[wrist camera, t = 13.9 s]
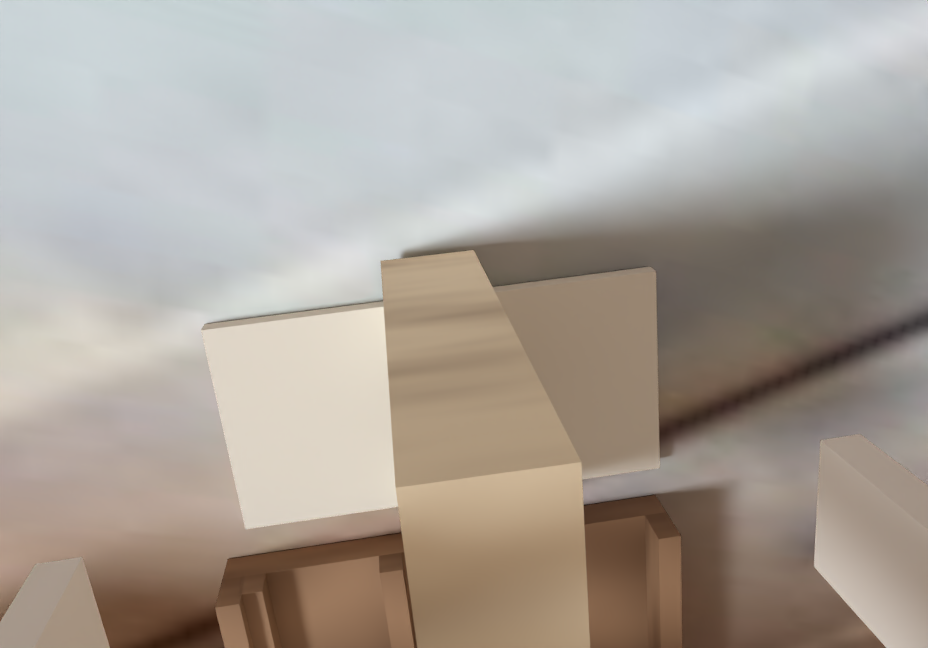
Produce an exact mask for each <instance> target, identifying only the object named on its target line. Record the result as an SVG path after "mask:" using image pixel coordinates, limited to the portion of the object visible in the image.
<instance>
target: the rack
mask: <svg viewBox="0 0 928 648" xmlns="http://www.w3.org/2000/svg"><path fill="white" fill-rule="evenodd" d="M584 528H585V549H586V570H587V592H588V613H589V634H590V648H682V583H681V535H680V533H679V532H678V530H677V529H676V527H675V525H674V524H673V522H672V521H671V519H670V518H669V516H668V514H667V513H666V511H665V510H664V508H663V506H662V505H661V503H660V502H659V500H658V499H657V497H656V495H651V496H644V497H638V498H631V499H624V500H618V501H611V502H604V503H598V504H591V505H585V506H584ZM215 610H216V614H217V618H218V622H219V626H220V630H221V634H222V638H223V642H224V646H225V648H417V641H416V634H415V627H414V620H413V612H412V605H411V598H410V590H409V583H408V576H407V568H406V561H405V554H404V546H403V539H402V533H398V534H392V535H385V536H379V537H372V538H365V539H359V540H352V541H345V542H339V543H332V544H325V545H319V546H312V547H305V548H299V549H292V550H286V551H279V552H272V553H266V554H259V555H252V556H246V557H239V558H232V559H228V561H227V564H226V568H225V572H224V576H223V579H222V583H221V587H220V591H219V595H218V598H217V602H216V606H215Z"/></svg>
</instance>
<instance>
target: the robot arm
mask: <svg viewBox="0 0 928 648" xmlns="http://www.w3.org/2000/svg"><path fill="white" fill-rule="evenodd" d="M814 567H815V568H816V570H817V571H818V572H819V573H820V574H821V575H822V576H823V577H824V578H825V580H826V581H827V582H828V583H829V584H830V585H831V586H832V587H833V589H834V590H835V591H836V592H837V593H838V594H839V595H840V596H841V598H842V599H843V600H844V601H845V602H846V603H847V604H848V605H849V607H850V608H851V609H852V610H853V611H854V612H855V613H856V614H857V616H858V617H859V618H860V619H861V620H862V621H863V622H864V623H865V624H866V626H867V627H868V628H869V629H870V630H871V631H872V632H873V633H874V635H875V636H876V637H877V638H878V639H879V640H880V641H881V642H882V644H883V645H884V646H885V647H886V648H928V485H926V484H925V483H924V482H922V481H921V480H920V479H919V478H917V477H916V476H915V475H913V474H912V473H911V472H909V471H908V470H907V469H905V468H904V467H903V466H901V465H900V464H899V463H897V462H896V461H895V460H894V459H892V458H891V457H890V456H888V455H887V454H886V453H884V452H883V451H882V450H880V449H879V448H878V447H876V446H875V445H874V444H872V443H871V442H870V441H868V440H867V439H866V438H865V437H863V436H862V435H861V434H857V435H850V436H844V437H838V438H831V439H825V440H820V459H819V478H818V498H817V517H816V537H815V556H814ZM0 648H110V646H109V643H108V640H107V637H106V633H105V630H104V627H103V623H102V620H101V617H100V613H99V610H98V607H97V604H96V600H95V597H94V594H93V590H92V587H91V584H90V580H89V577H88V574H87V571H86V567H85V564H84V561H83V557H78V558H72V559H65V560H59V561H53V562H46V563H40V564H35V566H34V567H33V569H32V571H31V572H30V574H29V575H28V577H27V579H26V580H25V582H24V584H23V585H22V587H21V588H20V590H19V592H18V593H17V595H16V597H15V598H14V600H13V602H12V603H11V605H10V606H9V608H8V610H7V611H6V613H5V615H4V616H3V618H2V619H1V621H0Z"/></svg>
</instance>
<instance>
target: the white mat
mask: <svg viewBox="0 0 928 648" xmlns="http://www.w3.org/2000/svg"><path fill="white" fill-rule="evenodd" d="M493 289H494V291H495V293H496V295H497V297H498V299H499V301H500V303H501V305H502V307H503V309H504V311H505V313H506V315H507V317H508V319H509V321H510V323H511V325H512V327H513V329H514V331H515V332H516V334H517V336H518V338H519V340H520V342H521V344H522V346H523V348H524V350H525V352H526V354H527V356H528V358H529V360H530V362H531V364H532V366H533V368H534V370H535V372H536V374H537V376H538V378H539V380H540V382H541V384H542V386H543V388H544V390H545V391H546V393H547V395H548V397H549V399H550V401H551V403H552V405H553V407H554V409H555V411H556V413H557V415H558V417H559V419H560V421H561V423H562V425H563V427H564V429H565V431H566V433H567V435H568V437H569V439H570V441H571V443H572V445H573V447H574V449H575V450H576V452H577V454H578V456H579V458H580V460H581V464H582V479H589V478H596V477H602V476H609V475H616V474H623V473H629V472H636V471H643V470H650V469H656V468H660V451H659V399H658V348H657V297H656V271H655V270H654V269H653V268H651V267H643V268H635V269H628V270H620V271H612V272H604V273H597V274H589V275H581V276H573V277H566V278H558V279H550V280H543V281H535V282H527V283H519V284H512V285H504V286H496V287H493ZM201 333H202V337H203V342H204V346H205V351H206V355H207V360H208V364H209V368H210V373H211V377H212V382H213V386H214V391H215V395H216V400H217V404H218V409H219V413H220V418H221V422H222V427H223V431H224V436H225V440H226V445H227V449H228V453H229V458H230V462H231V467H232V471H233V476H234V480H235V485H236V489H237V494H238V498H239V503H240V507H241V512H242V516H243V521H244V525H245V529H251V528H258V527H265V526H272V525H278V524H285V523H292V522H299V521H305V520H312V519H319V518H326V517H332V516H339V515H346V514H353V513H359V512H366V511H373V510H380V509H386V508H393V507H398V502H397V495H396V488H395V473H394V457H393V442H392V427H391V411H390V396H389V381H388V365H387V350H386V335H385V319H384V304H383V301H380V302H372V303H365V304H357V305H349V306H342V307H334V308H326V309H318V310H311V311H303V312H295V313H287V314H280V315H272V316H264V317H257V318H249V319H241V320H233V321H226V322H218V323H210V324H204V326H203V328H202V329H201Z"/></svg>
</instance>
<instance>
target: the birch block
mask: <svg viewBox="0 0 928 648" xmlns="http://www.w3.org/2000/svg"><path fill="white" fill-rule="evenodd" d="M381 273H382V289H383V304H384V319H385V335H386V350H387V365H388V381H389V396H390V411H391V427H392V442H393V457H394V473H395V488H396V495H397V502H398V510H399V517H400V524H401V532H402V539H403V546H404V554H405V561H406V568H407V576H408V583H409V590H410V598H411V605H412V612H413V620H414V627H415V634H416V641H417V648H590V634H589V613H588V592H587V570H586V549H585V528H584V506H583V485H582V464H581V460H580V458H579V456H578V454H577V452H576V450H575V449H574V447H573V445H572V443H571V441H570V439H569V437H568V435H567V433H566V431H565V429H564V427H563V425H562V423H561V421H560V419H559V417H558V415H557V413H556V411H555V409H554V407H553V405H552V403H551V401H550V399H549V397H548V395H547V393H546V391H545V390H544V388H543V386H542V384H541V382H540V380H539V378H538V376H537V374H536V372H535V370H534V368H533V366H532V364H531V362H530V360H529V358H528V356H527V354H526V352H525V350H524V348H523V346H522V344H521V342H520V340H519V338H518V336H517V334H516V332H515V331H514V329H513V327H512V325H511V323H510V321H509V319H508V317H507V315H506V313H505V311H504V309H503V307H502V305H501V303H500V301H499V299H498V297H497V295H496V293H495V291H494V289H493V287H492V285H491V283H490V281H489V279H488V277H487V275H486V273H485V272H484V270H483V268H482V266H481V264H480V262H479V260H478V258H477V256H476V254H475V252H474V250H470V251H461V252H453V253H444V254H436V255H427V256H419V257H410V258H401V259H393V260H384V261H381Z"/></svg>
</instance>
